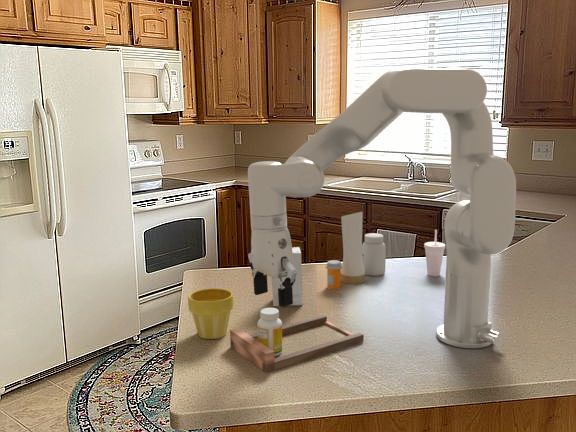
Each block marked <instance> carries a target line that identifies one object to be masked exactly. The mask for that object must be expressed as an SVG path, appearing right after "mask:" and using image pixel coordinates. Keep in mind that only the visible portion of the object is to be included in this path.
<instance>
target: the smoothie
mask: <svg viewBox="0 0 576 432" xmlns="http://www.w3.org/2000/svg"><path fill="white" fill-rule="evenodd" d="M437 235H438V229H435V230H434V241H427V242H424V243H423V244H424V246H423V248H424V252H425V259H426V273H427V276H430V277H439V276H440V275H441V270H442V264H443V259H444V251H445V249H446V243H443V242H440V241H437V239H438V238H437V237H438V236H437Z"/></svg>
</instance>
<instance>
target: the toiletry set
mask: <svg viewBox="0 0 576 432" xmlns="http://www.w3.org/2000/svg"><path fill="white" fill-rule="evenodd" d="M363 218H364V217H363V211H359V212H354V213H350V214H346V215H341V217H340V220H341V233H342V234H341V235H342V250H343V254H342V255H343V258H342V262H341V260H336V259H332V260H331V259H330V260H328V261H327V263H326V264H325V265H326V266H325V269H326V271H327V272H326V273H327V275H326V277H327V283H326V285H327V289H328V290H329V289H330V290H339V289H341V286H342V284H341V283H343V284H346V285H347V284H348V285H359V284H358V283H360V284H363V283H364V282H365V281H366V276H369V275H370V277H371V276H372V277H378V276H382V275H384V274H385V273H386V260H387V258H386V257H387V256H386V255H387V254H386V252H387V251H386V250H387V249H386V243H384V235H383V234H381V233H374V232H373V233H372V232H370V233H365V234H364V241H363Z"/></svg>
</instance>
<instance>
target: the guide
mask: <svg viewBox="0 0 576 432" xmlns="http://www.w3.org/2000/svg"><path fill="white" fill-rule="evenodd" d="M327 317H328V316H326V315H324V314H320V315H317V316H314V317H310V318H307V319H303V320H302V319H301V320H299V321H296V322H292V323H288V324H285V325H282V336H286V335H289V334H293V333H296V332H299V331H302V330H306V329H310V328H314V327H317V326H320V325H323V324H325V325H327V326H328V327H330V328H332V329H334V330H336V331H338V332H339V333H343V334H344V335H346V336H344V337H340V338H337V339H333V340H331V341H327V342H324V343H320V344H318V345H314V346H311V347H308V348H304V349H301V350H298V351H295V352H291V353H288V354H285V355H282V356H279V357H274V351H273V350H271V349H270V348H268V347H267V346H265V345H264V344H262V343H260V342H259V341H258V340H257V332H255V333H252V334H251V333H250V334H249V333H246V332H245V331H243V330H242V329H241V328H238V327H236V328H232V329H229V334H230V335H229V336H230V337H229V339H230V340H229V341H230V342H229V343H230V348H231V349H233V350H234V351H235V352H237V353H238V354H240V355H241V356H243V357H244V358H245V359H247V360H248V361H250V362H251V363H253V364H254V365H255V366H257V367H258V368H259V369H261V370H262V371H264V372H265V373H269V372H272V371H276V370H277V369H283V368H285V367H287V366H291V365H293V364H297V363H300V362H303V361H306V360H308V359H313V358H315V357H319V356H321V355H324V354H327V353H331V352H334V351H337V350H341V349H343V348H347V347H350V346H353V345H355V344H358V343H363V342H364V337H365V336H364V334H363V333H361V332H356V333H352V332H350V331H348V330H346V329H344V328H342V327H340V326H338V325H336V324H334V323H332V322H330V321H328V320H327V319H328V318H327Z"/></svg>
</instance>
